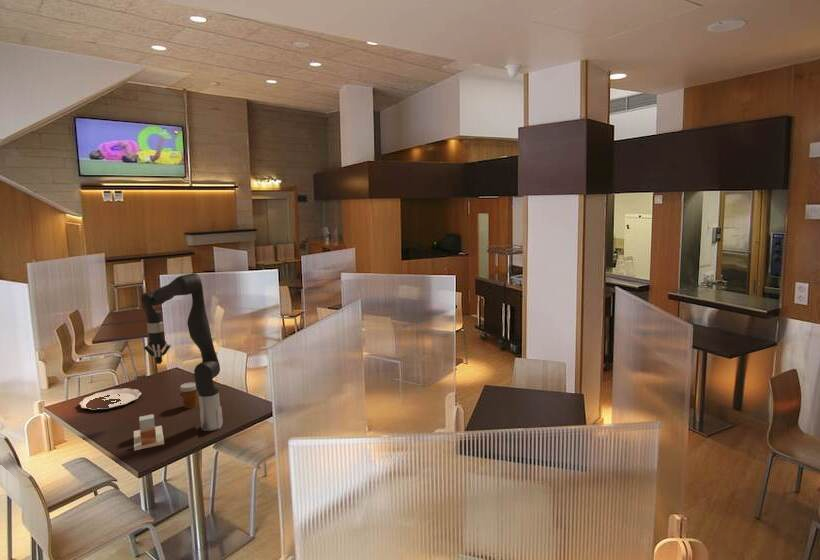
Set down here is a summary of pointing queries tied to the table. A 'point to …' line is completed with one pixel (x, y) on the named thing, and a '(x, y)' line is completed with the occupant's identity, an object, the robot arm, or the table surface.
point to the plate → (113, 397)
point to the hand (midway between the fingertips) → (159, 363)
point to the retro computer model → (146, 422)
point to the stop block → (148, 436)
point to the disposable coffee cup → (189, 394)
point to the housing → (158, 442)
